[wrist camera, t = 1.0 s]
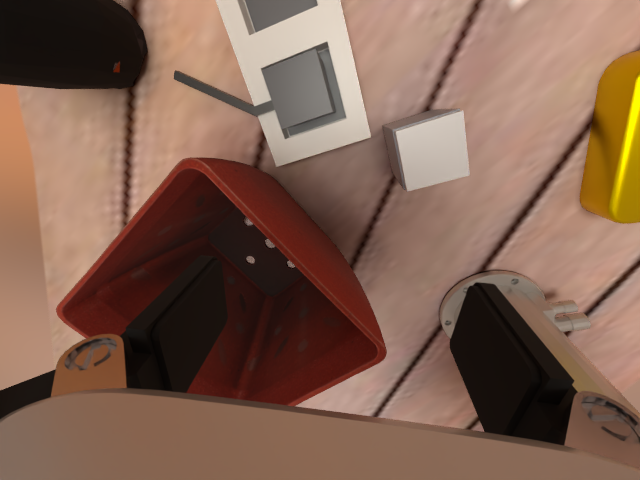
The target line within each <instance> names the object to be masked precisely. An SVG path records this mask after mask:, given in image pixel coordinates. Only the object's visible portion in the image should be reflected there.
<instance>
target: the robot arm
mask: <svg viewBox="0 0 640 480" xmlns="http://www.w3.org/2000/svg"><path fill="white" fill-rule="evenodd" d="M577 311H578V306H577V304H576V303H575V302H574V301H573V300H568V301H561V302H558V303H552V304H551V303H550V302H546V298H545V296H544V294H543V292H542V291H541V289H540V288H539V287H538V286H537V285H536V284H535V283H533V282H532V281H531V280H530V279H529V278H527V277H525V276H523V275H521V274H517V273H514V272H509V271H489V272H484V273H479V274H477V275H474V276H471V277H469V278H467V279H465V280H463V281H461V282H460V283H459V284H457V285H456V286H455V287H453V288H452V290H451V291H450V292H449V293H448V294H447V295H446V297H445V298H444V300H443V302H442V305H441V308H440V322H441V324H442V327H443V329H444V331H445V333H446V335H447V336H448V337H449V338H450V349H451V352H452V354H453V357H454V359H455V362H456V364H457V366H458V369H459V371H460V374H461V376H462V378H463V381H464V383H465V386H466V388H467V390H468V393H469V395H470V398H471V400H472V402H473V405H474V407H475V410H476V412H477V414H478V417H479V419H480V422H481V424H482V426H483V429H484V431H485V432H480V431H473V430H466V429H458V428H451V427H444V426H437V425H429V424H422V423H415V422H408V421H400V420H393V419H386V418H378V417H371V416H363V415H356V414H348V413H341V412H333V411H325V410H318V409H310V408H302V407H295V406H287V405H279V404H271V403H263V402H256V401H248V400H240V399H232V398H224V397H216V396H208V395H199V394H190V393H186V392H187V391H188V389H189V387H190V385H191V384H192V382H193V380H194V378H195V377H196V375H197V373H198V372H199V370H200V368H201V366H202V365H203V363H204V361H205V359H206V358H207V356H208V354H209V353H210V351H211V349H212V347H213V346H214V344H215V342H216V340H217V339H218V337H219V335H220V334H221V332H222V330H223V328H224V327H225V325H226V323H227V319H228V313H227V304H226V295H225V287H224V278H223V269H222V263H221V261H218V259H217V257H214V256H204V255H200V256H199V257H198V258H197V259H196V260H195V261H194V262H193V263H192V264H190V265H189V266H188V267H187V268H186V269H185V270H184V271H183V272H182V273H181V274H180V275H179V276H178V277H177V278H176V279H175V280H174V281H173V282H172V283H171V284H170V285H169V286H168V287H167V288H166V289H165V290H164V291H163V292H162V293H161V294H160V295H159V296H157V297H156V298H155V299H154V300H153V301H152V302H151V303H150V304H149V305H148V306H147V307H146V308H145V309H144V310H143V311H142V312H141V313H140V314H139V315H138V316H137V317H136V318H135V319H134V320H133V321H132V322H131V323H130V324H129V325H128V326H127V327H126V328H125V329H126V331H125V332H124V333H123V334H121V335H120V336H118V335H114V334H101V335H96V336H92V337H90V338H87V339H84V340H82V341H80V342H79V343H77V344H75V345H73V346H72V347H71V348H69V349H68V350H67V351H65V353H64V354H63V355H62V356H61V357H60V358H59V361H58V363H57V365H56V369H55V370H53V371H50V372H48V373H45V374H42V375H40V376H37V377H35V378H32V379H29V380H27V381H24V382H21V383H19V384H16V385H14V386H11V387H9V388H6V389H4V390H1V391H0V480H640V413H639V412H638V411H637V410H636V409H635V408H634V407H633V406H632V405H631V404H630V403H629V402H628V401H627V400H626V399H625V397H624V396H623V395H622V394H621V393H620V392H619V391H618V390H617V389H616V388H615V387H614V386H613V385H612V384H611V383H610V382H609V381H608V380H607V379H606V377H605V376H604V375H603V374H602V373H601V372H600V371H599V370H598V369H597V368H596V367H595V366H594V365H593V364H592V363H591V362H590V361H589V360H588V359H587V358H586V356H585V355H584V354H583V353H582V352H581V351H580V350H579V349H578V348H577V347H576V346H575V345H574V344H573V343H572V342H571V341H570V340H569V339H568V338H567V337H566V335H565V334H564V333H563V331H578V330H585V329H589V328H590V327H591V324H590V321H589V319H588V317H587V316H586V315H585V314H583V313H574V314H568V315H563V316H561V317H555V316H556V314H559V313H570V312H577Z"/></svg>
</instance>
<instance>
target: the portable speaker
mask: <svg viewBox="0 0 640 480" xmlns="http://www.w3.org/2000/svg"><path fill="white" fill-rule="evenodd" d="M146 53H147V47H146V43H145V38H144V33H143V30H142V29H141V28H140V26H139V25H138V24H137V22H136V21H135V20H134V18H133V17H132V16H131V14H130V13H129V12H128V10H126V9H125V8H123V7H122V6H120V5H119V4H117V3H116V2H115V1H113V0H0V84H10V85H21V86H32V87H44V88H55V89H108V88H118V89H122V88H126V87H130V86H133V82H134V80H135V79H136V77H137V76H138V74H139V73H140V69H141V65H142V61H143V57H144V55H145V54H146Z"/></svg>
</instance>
